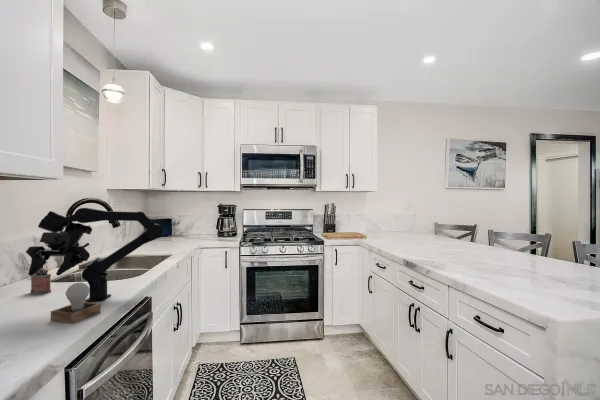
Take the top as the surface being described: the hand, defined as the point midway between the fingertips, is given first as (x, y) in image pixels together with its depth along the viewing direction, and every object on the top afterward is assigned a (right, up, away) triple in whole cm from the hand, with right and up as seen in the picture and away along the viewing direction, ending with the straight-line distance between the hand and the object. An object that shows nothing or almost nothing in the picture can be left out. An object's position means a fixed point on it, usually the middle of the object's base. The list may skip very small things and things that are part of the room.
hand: (43, 274), depth 95 cm
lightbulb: (+12, -14, -1) cm, 18 cm away
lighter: (-23, -14, +25) cm, 37 cm away
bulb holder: (+12, -13, -1) cm, 18 cm away
